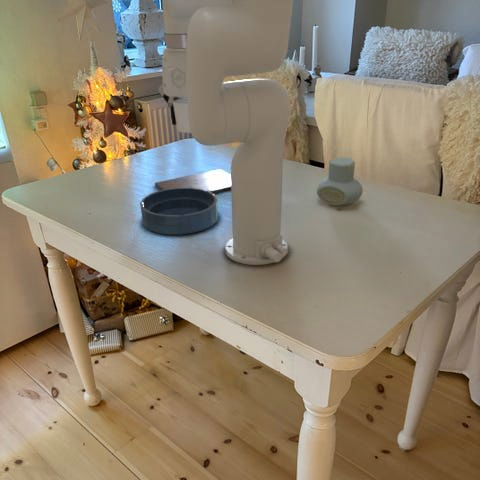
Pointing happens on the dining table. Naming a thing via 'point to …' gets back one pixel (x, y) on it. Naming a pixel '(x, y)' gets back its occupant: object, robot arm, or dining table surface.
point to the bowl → (179, 210)
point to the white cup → (181, 115)
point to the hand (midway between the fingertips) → (188, 124)
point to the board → (200, 182)
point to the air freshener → (340, 184)
